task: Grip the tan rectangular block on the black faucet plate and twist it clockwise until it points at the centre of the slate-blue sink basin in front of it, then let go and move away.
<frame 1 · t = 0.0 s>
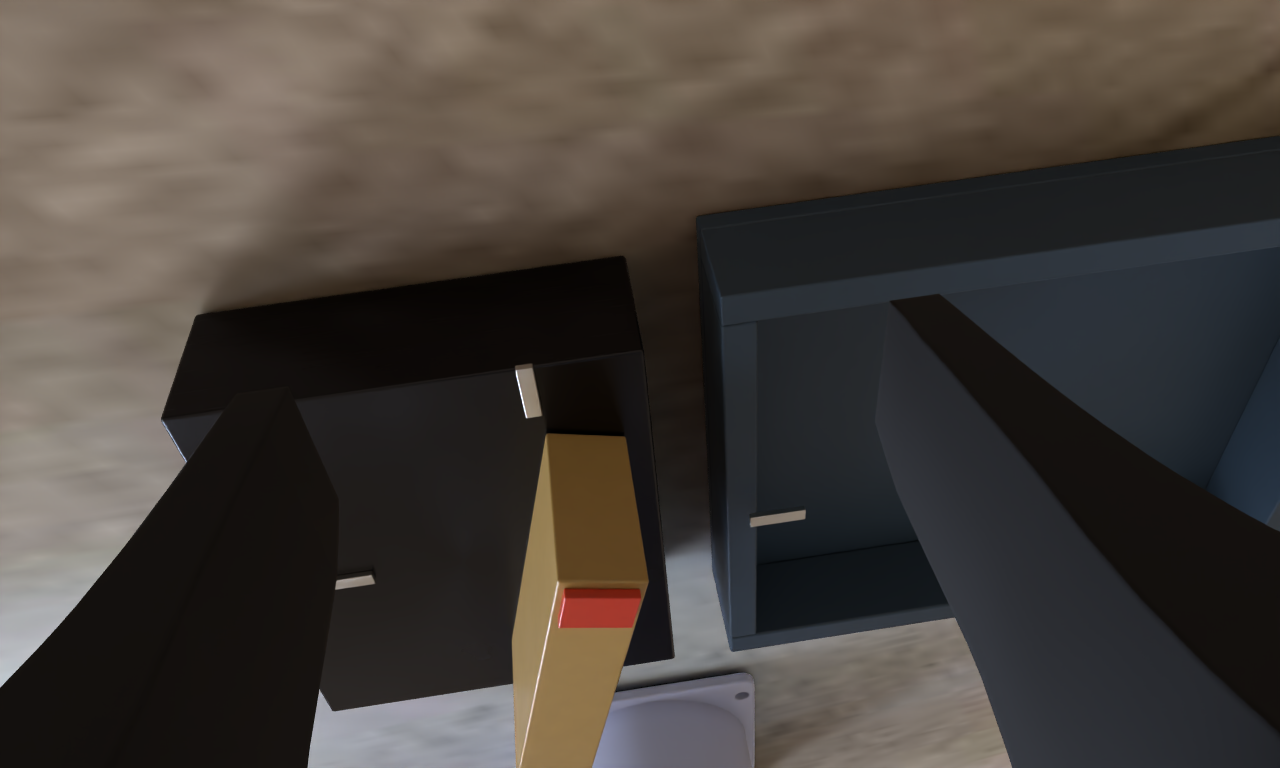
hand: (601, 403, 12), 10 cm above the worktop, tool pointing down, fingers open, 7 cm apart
sink: (997, 380, 27), on the worktop
faucet plate: (463, 458, 27), on the worktop
tan rectangular block: (569, 620, 23), point 6 cm above the worktop, hinge at 75.0°
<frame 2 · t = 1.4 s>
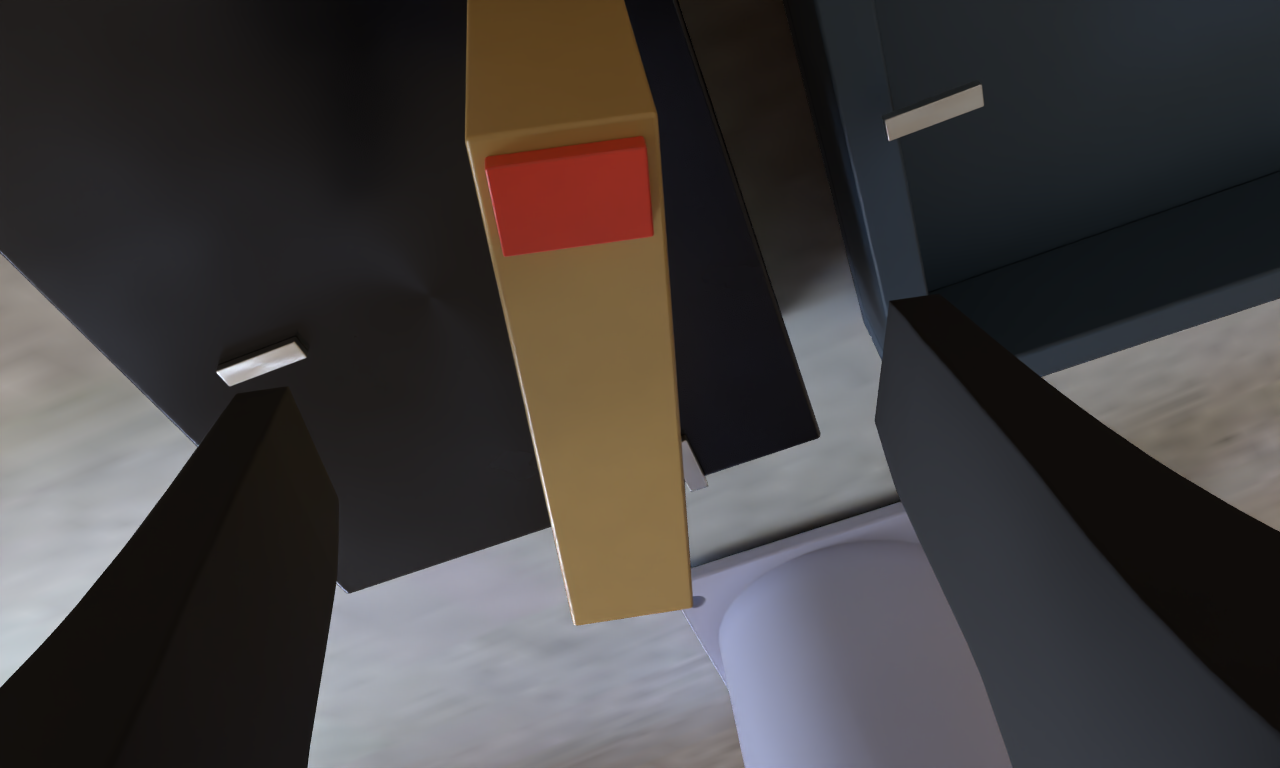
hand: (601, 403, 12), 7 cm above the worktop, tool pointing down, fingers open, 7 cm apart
faucet plate: (435, 179, 18), on the worktop
tan rectangular block: (592, 330, 13), point 6 cm above the worktop, hinge at 75.0°
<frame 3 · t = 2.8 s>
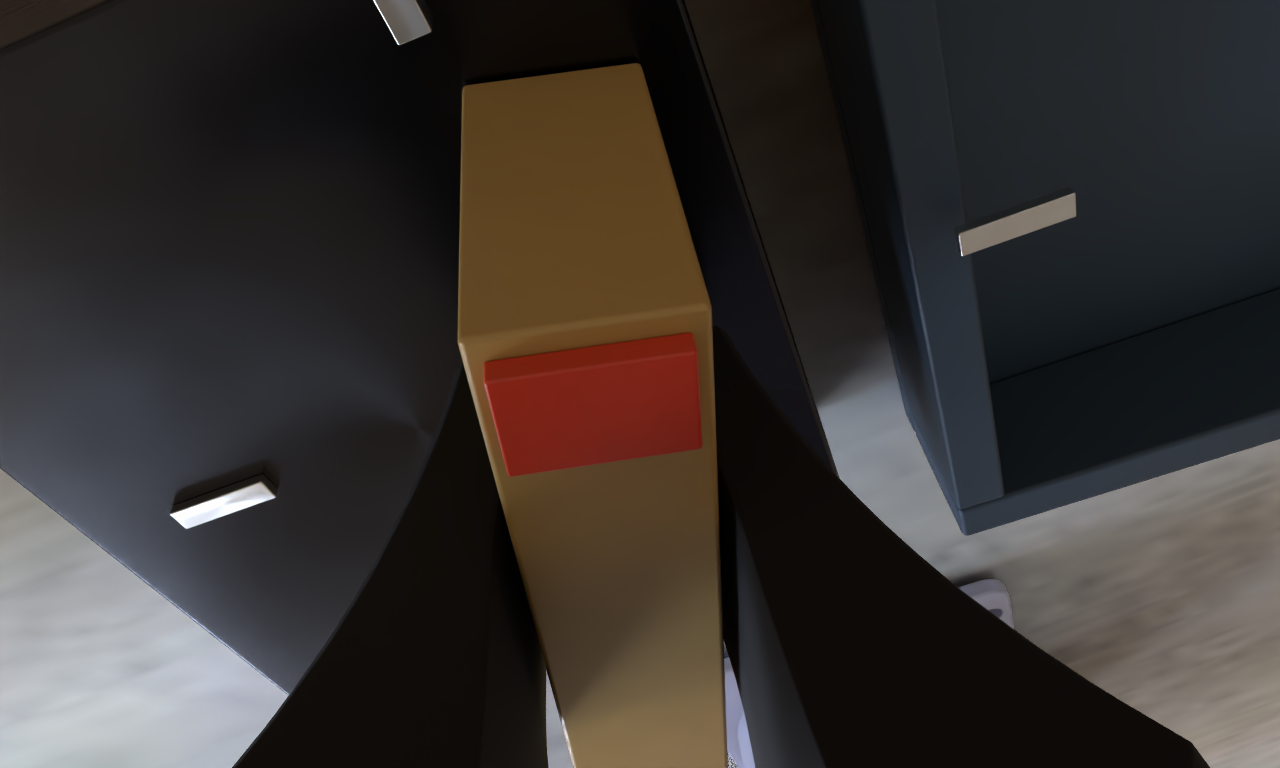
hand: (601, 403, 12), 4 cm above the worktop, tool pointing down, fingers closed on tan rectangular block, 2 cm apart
faucet plate: (427, 272, 15), on the worktop
tan rectangular block: (612, 494, 11), point 6 cm above the worktop, hinge at 74.9°, touching gripper
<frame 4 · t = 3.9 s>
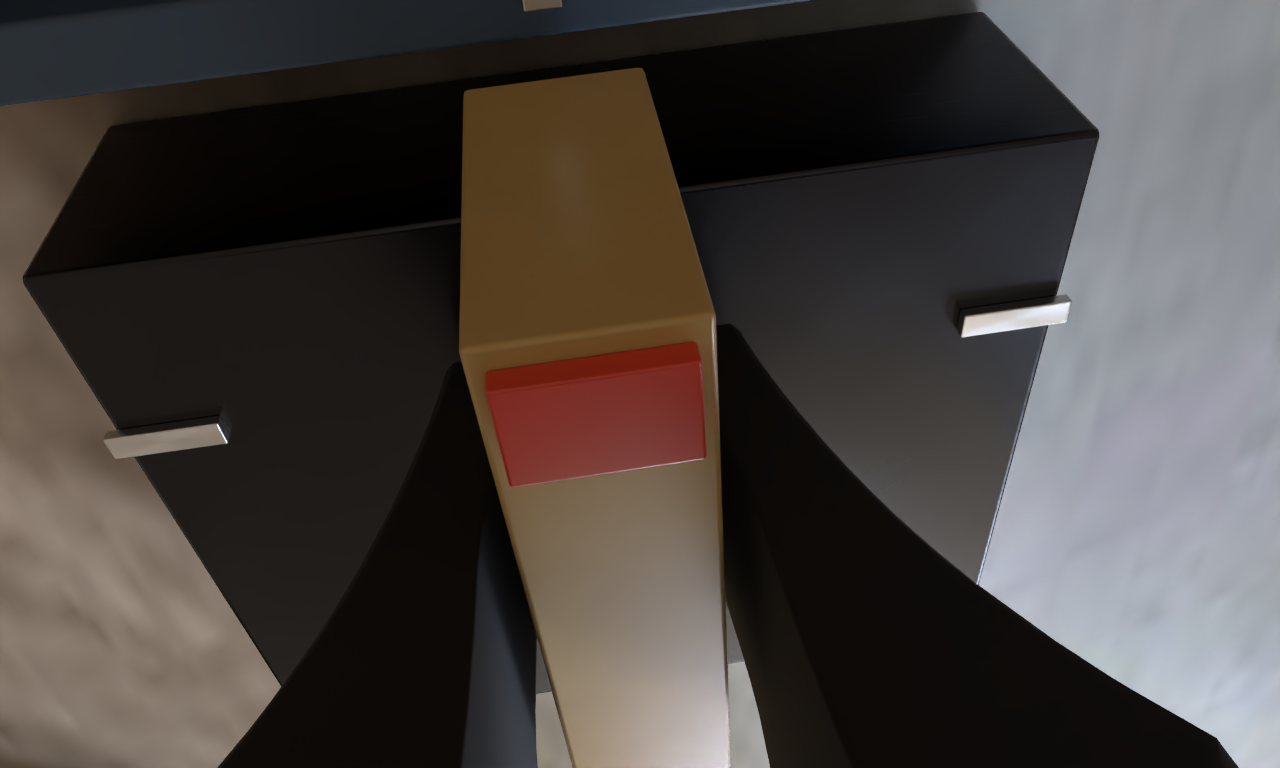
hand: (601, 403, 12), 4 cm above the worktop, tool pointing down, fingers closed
faucet plate: (593, 343, 17), on the worktop
tan rectangular block: (615, 501, 11), point 6 cm above the worktop, hinge at 0.0°
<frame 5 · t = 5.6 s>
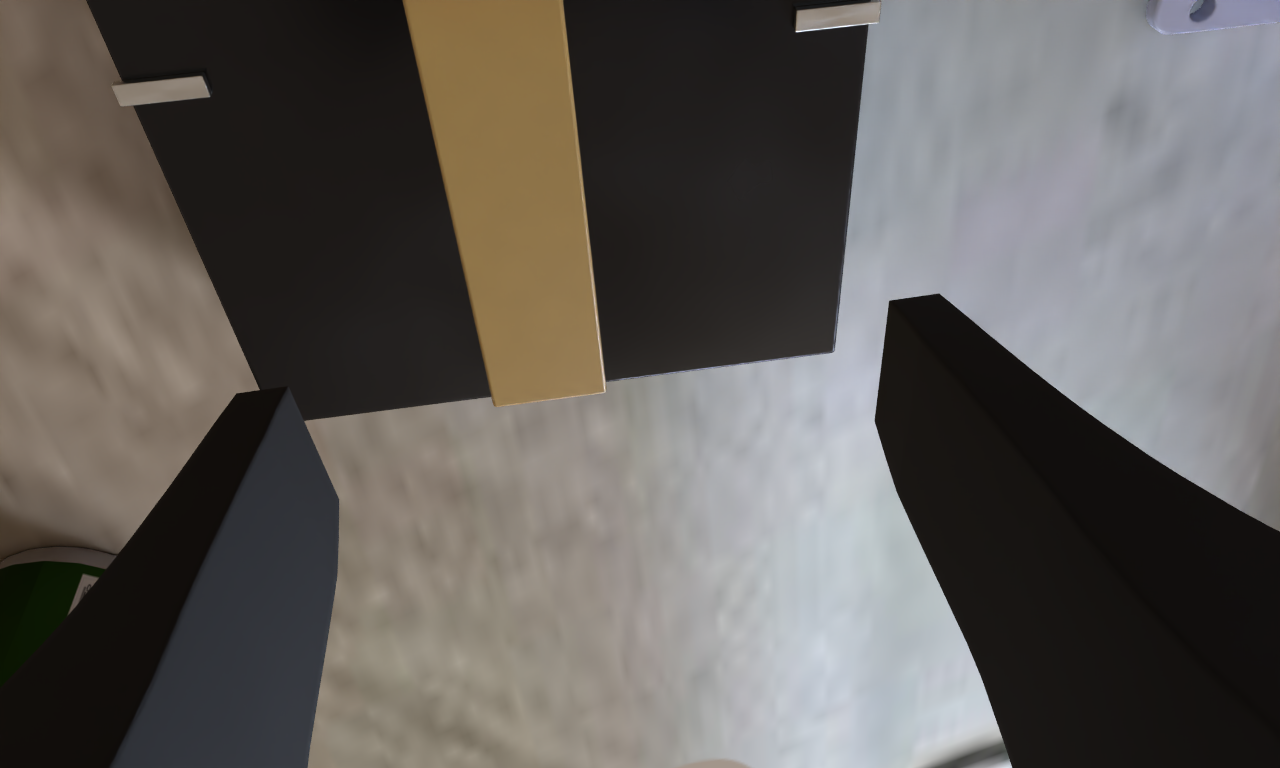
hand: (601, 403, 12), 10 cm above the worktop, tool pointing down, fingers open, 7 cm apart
beer can: (80, 591, 29), on the worktop
faucet plate: (520, 95, 20), on the worktop
tan rectangular block: (509, 112, 14), point 6 cm above the worktop, hinge at 0.0°
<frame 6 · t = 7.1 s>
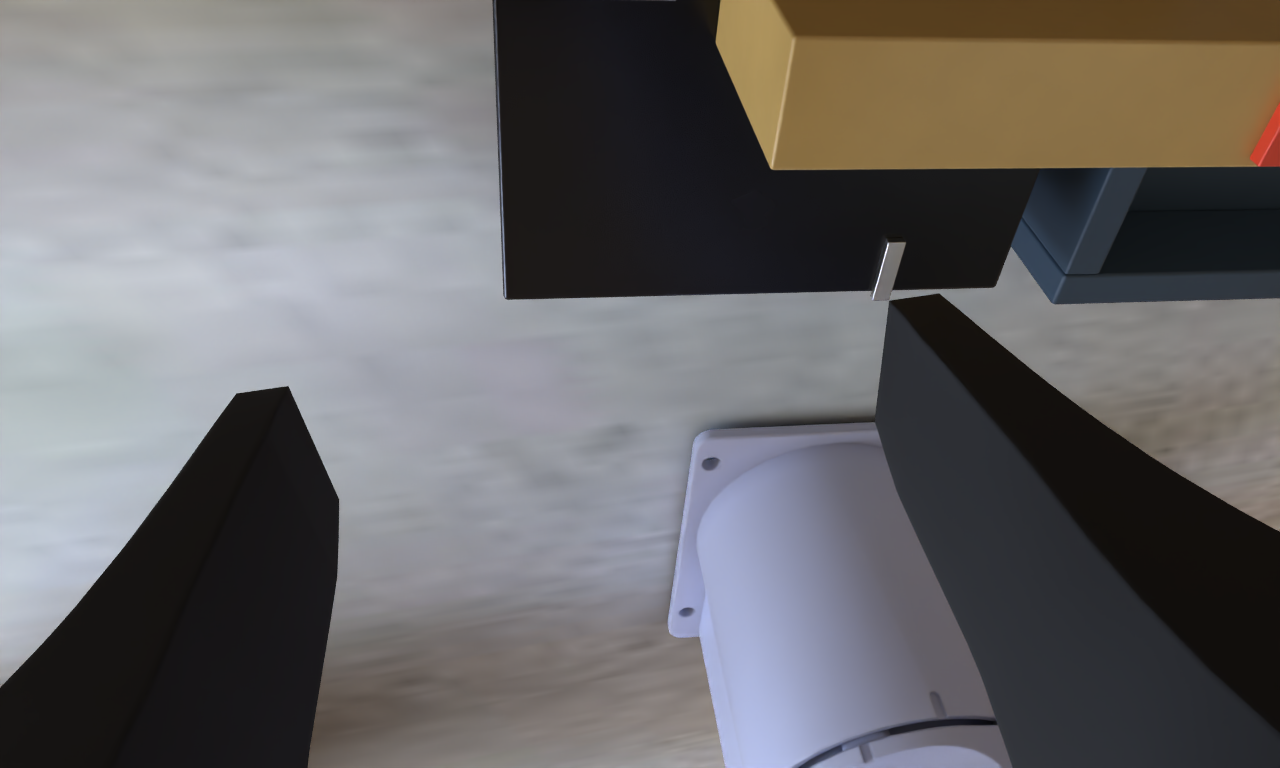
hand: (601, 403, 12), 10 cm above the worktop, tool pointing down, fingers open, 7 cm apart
tan rectangular block: (1020, 47, 14), point 6 cm above the worktop, hinge at 0.0°
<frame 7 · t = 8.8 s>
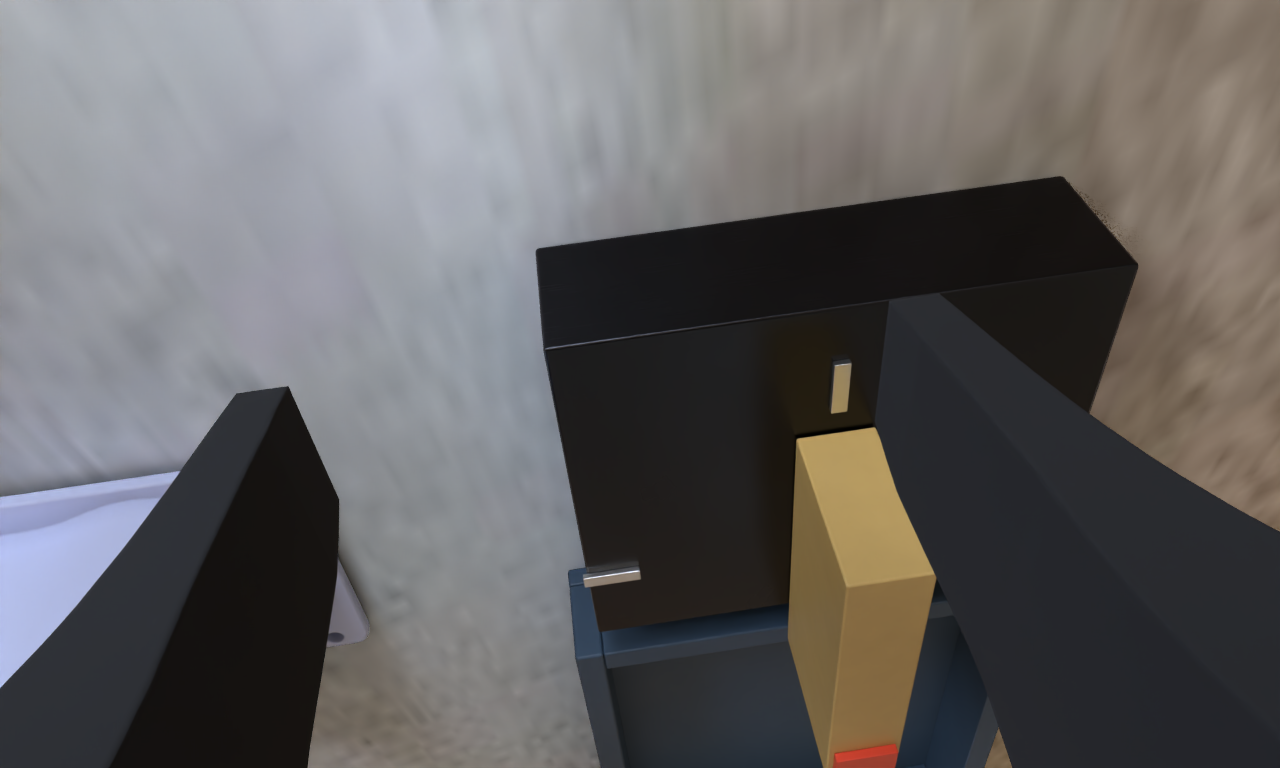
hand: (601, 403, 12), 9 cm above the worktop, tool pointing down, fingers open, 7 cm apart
sink: (782, 678, 35), on the worktop
faucet plate: (795, 374, 25), on the worktop
tan rectangular block: (850, 615, 23), point 6 cm above the worktop, hinge at 0.0°
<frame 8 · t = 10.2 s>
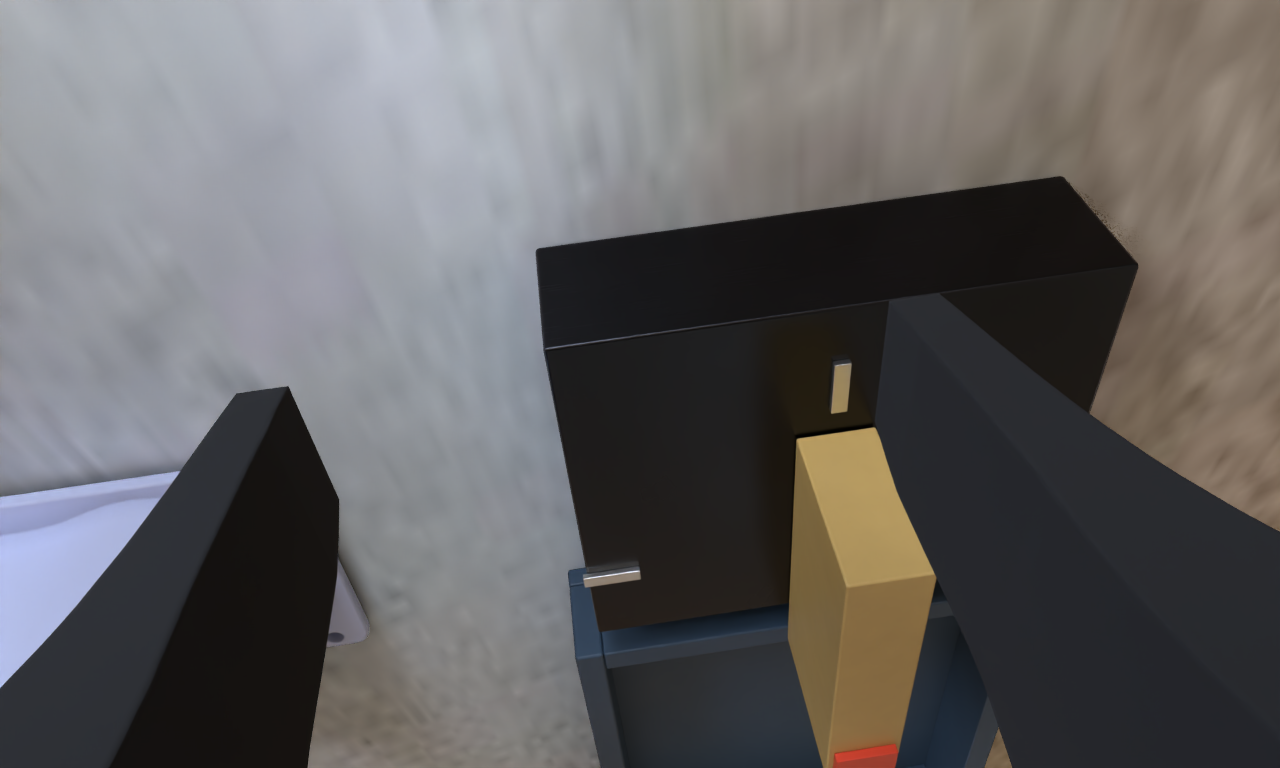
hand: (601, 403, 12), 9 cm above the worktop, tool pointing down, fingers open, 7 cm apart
sink: (782, 678, 35), on the worktop
faucet plate: (795, 375, 25), on the worktop
tan rectangular block: (850, 615, 23), point 6 cm above the worktop, hinge at 0.0°
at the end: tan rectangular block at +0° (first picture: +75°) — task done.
